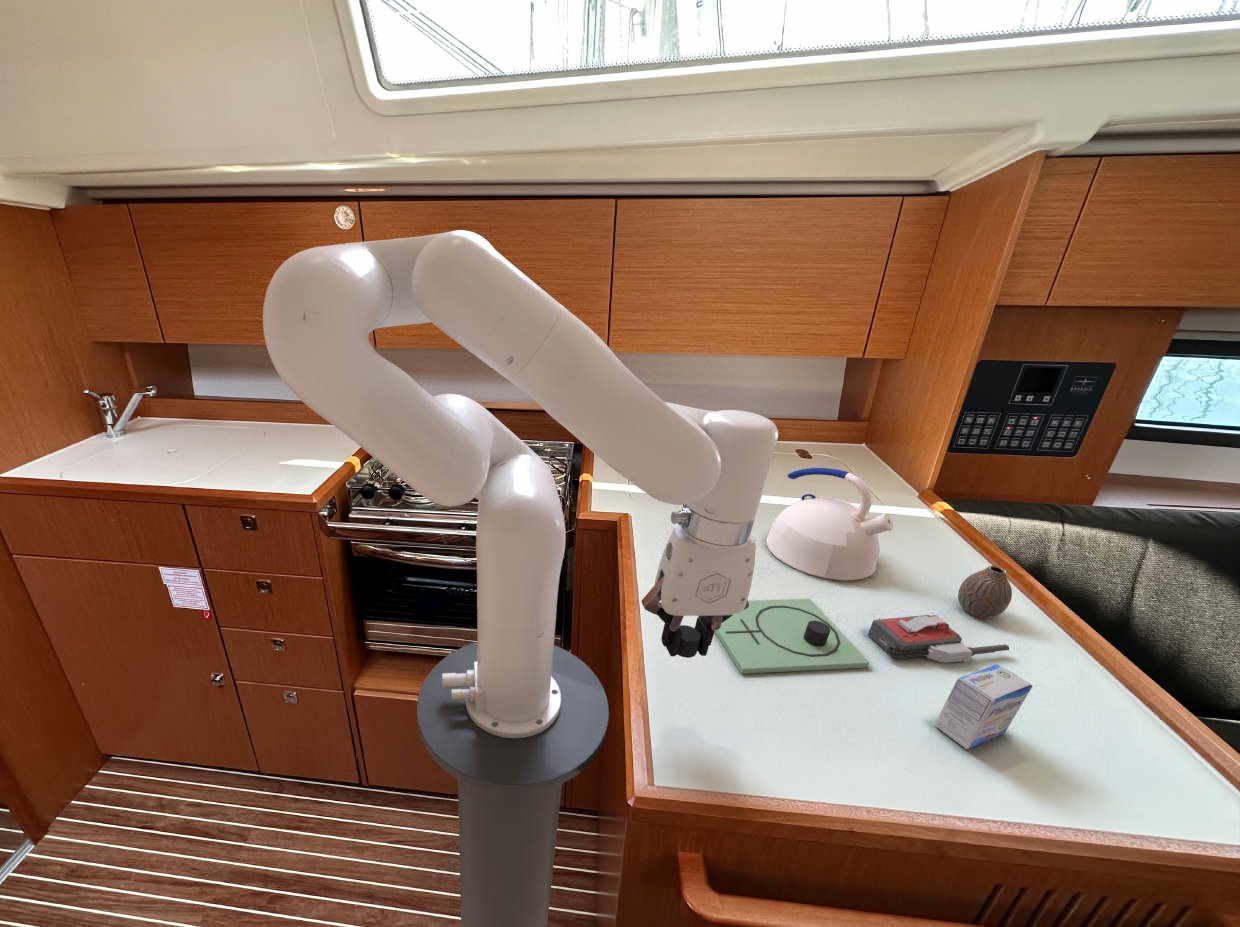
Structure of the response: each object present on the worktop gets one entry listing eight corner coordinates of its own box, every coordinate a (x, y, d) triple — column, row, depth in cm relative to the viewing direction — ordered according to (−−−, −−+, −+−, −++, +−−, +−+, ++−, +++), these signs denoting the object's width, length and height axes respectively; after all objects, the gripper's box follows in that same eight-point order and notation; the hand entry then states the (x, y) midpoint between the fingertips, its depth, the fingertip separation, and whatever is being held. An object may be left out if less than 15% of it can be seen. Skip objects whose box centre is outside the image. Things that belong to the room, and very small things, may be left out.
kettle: (850, 595, 101) (883, 506, 92) (746, 547, 115) (767, 466, 106) (893, 559, 112) (927, 477, 104) (794, 520, 126) (816, 445, 118)
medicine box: (966, 751, 71) (995, 701, 67) (932, 725, 74) (957, 676, 70) (1005, 734, 73) (1035, 685, 70) (970, 709, 77) (996, 661, 73)
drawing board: (741, 674, 82) (742, 668, 81) (698, 607, 96) (700, 602, 95) (867, 667, 84) (869, 662, 83) (808, 603, 98) (809, 598, 98)
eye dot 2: (810, 647, 86) (815, 634, 85) (799, 633, 89) (803, 620, 88) (830, 646, 86) (834, 633, 85) (818, 633, 89) (822, 620, 88)
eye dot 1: (676, 658, 69) (680, 641, 68) (667, 641, 72) (671, 625, 71) (700, 657, 70) (705, 641, 69) (691, 640, 73) (695, 624, 71)
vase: (1002, 629, 93) (1026, 585, 89) (953, 614, 97) (974, 572, 93) (998, 608, 99) (1020, 566, 95) (951, 595, 102) (970, 554, 98)
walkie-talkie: (898, 671, 83) (1010, 658, 87) (909, 648, 81) (1023, 636, 85) (857, 633, 91) (961, 623, 94) (866, 611, 89) (972, 602, 92)
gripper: (656, 538, 58) (629, 671, 67) (802, 539, 60) (758, 668, 69) (636, 506, 65) (613, 630, 73) (768, 507, 67) (732, 628, 75)
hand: (684, 647), depth 71 cm, fingers closed on eye dot 1, 3 cm apart
